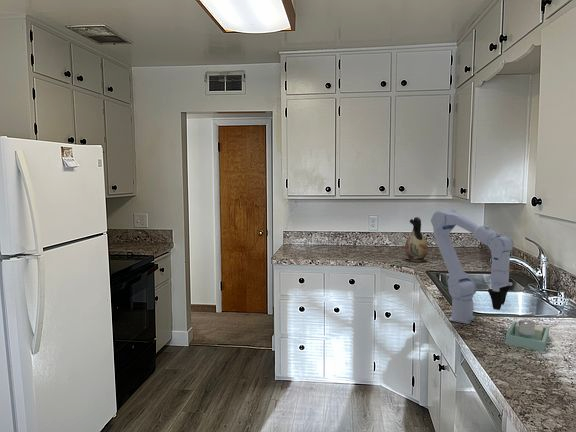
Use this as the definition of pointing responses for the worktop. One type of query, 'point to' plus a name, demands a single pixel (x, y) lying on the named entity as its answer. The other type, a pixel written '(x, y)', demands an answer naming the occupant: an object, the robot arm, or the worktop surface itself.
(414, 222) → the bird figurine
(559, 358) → the worktop surface
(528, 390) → the worktop surface
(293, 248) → the worktop surface
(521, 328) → the tin can
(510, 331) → the tote
